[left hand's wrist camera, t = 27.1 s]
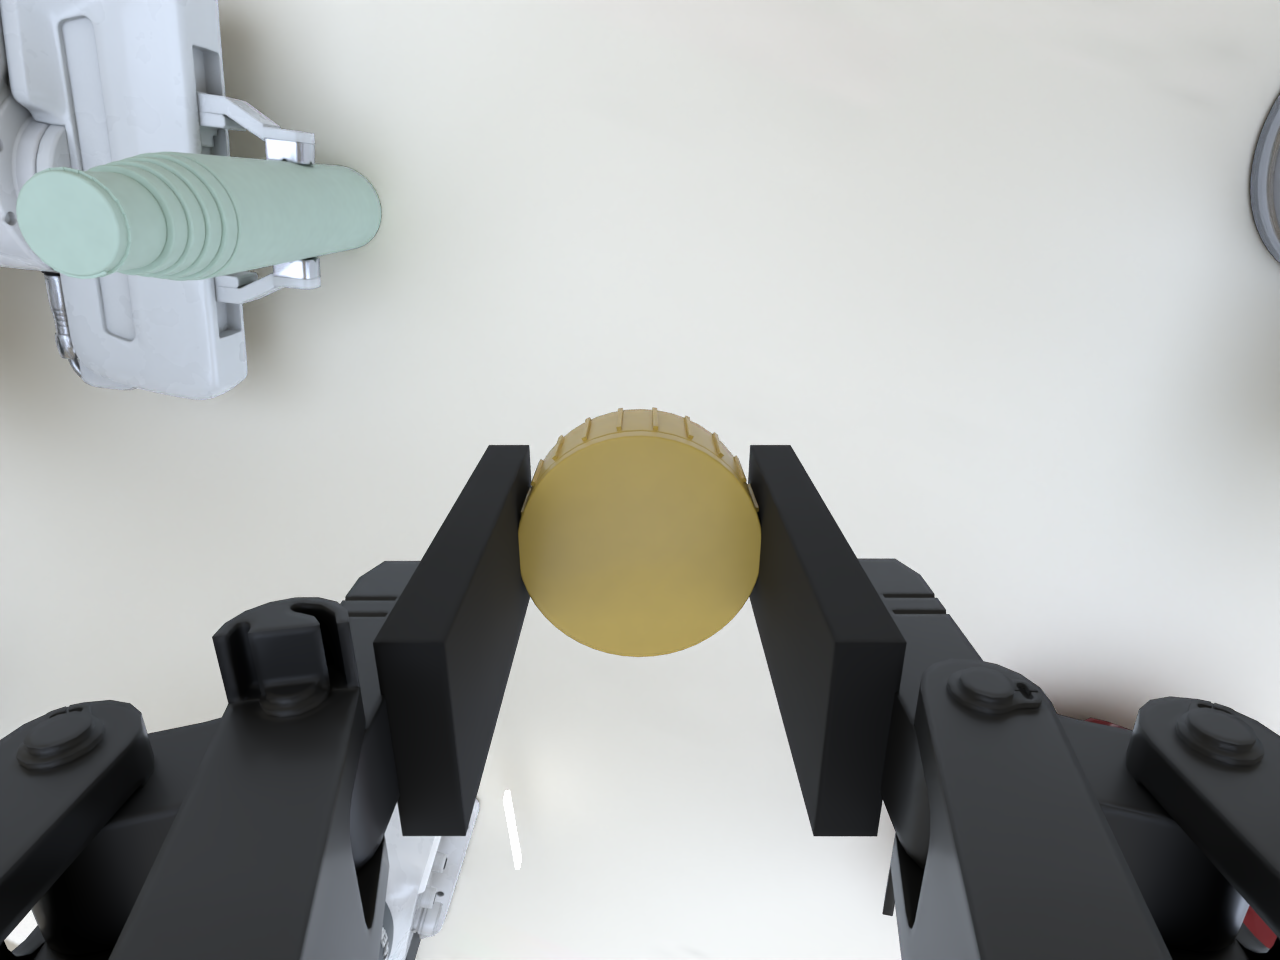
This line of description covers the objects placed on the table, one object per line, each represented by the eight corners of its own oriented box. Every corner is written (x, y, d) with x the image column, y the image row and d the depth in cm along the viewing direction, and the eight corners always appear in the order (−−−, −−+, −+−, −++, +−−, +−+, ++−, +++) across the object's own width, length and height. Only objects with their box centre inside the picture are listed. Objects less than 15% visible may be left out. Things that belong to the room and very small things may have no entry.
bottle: (287, 181, 42) (-45, 173, 22) (359, 153, 42) (88, 118, 21) (325, 260, 44) (47, 321, 23) (395, 234, 43) (174, 273, 23)
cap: (495, 567, 15) (479, 610, 13) (577, 368, 13) (569, 391, 12) (693, 642, 15) (699, 691, 14) (792, 459, 14) (811, 492, 12)
